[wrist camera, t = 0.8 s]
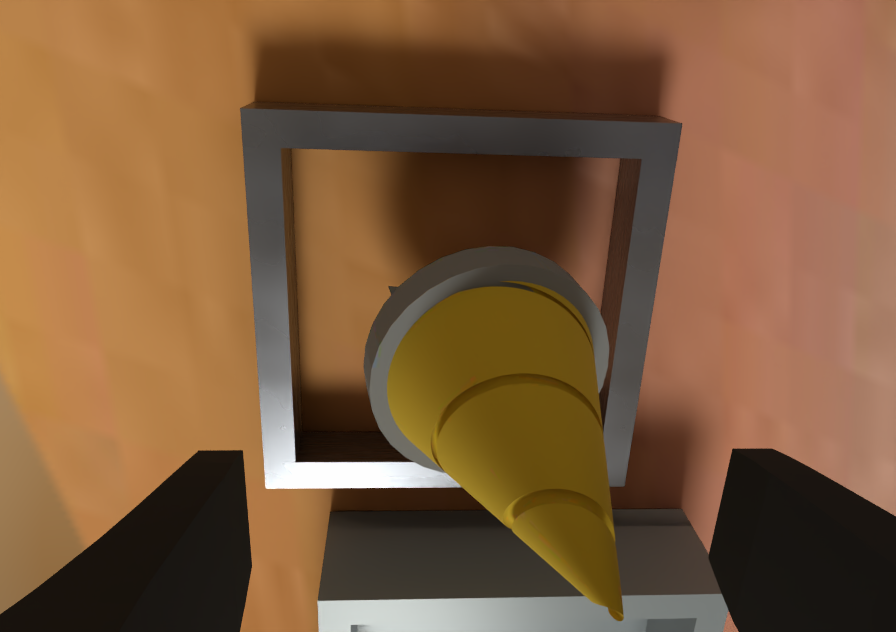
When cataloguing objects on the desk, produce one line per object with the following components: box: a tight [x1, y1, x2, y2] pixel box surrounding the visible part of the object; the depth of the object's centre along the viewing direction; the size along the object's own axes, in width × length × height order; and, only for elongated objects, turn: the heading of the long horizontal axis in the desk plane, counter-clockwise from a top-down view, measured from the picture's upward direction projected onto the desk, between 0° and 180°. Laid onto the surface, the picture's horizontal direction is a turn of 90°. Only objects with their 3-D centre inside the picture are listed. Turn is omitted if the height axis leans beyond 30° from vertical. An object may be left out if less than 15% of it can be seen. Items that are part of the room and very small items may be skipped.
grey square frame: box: [240, 102, 682, 488], centre depth 18 cm, size 10×10×2 cm
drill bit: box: [364, 246, 624, 621], centre depth 14 cm, size 5×5×10 cm
